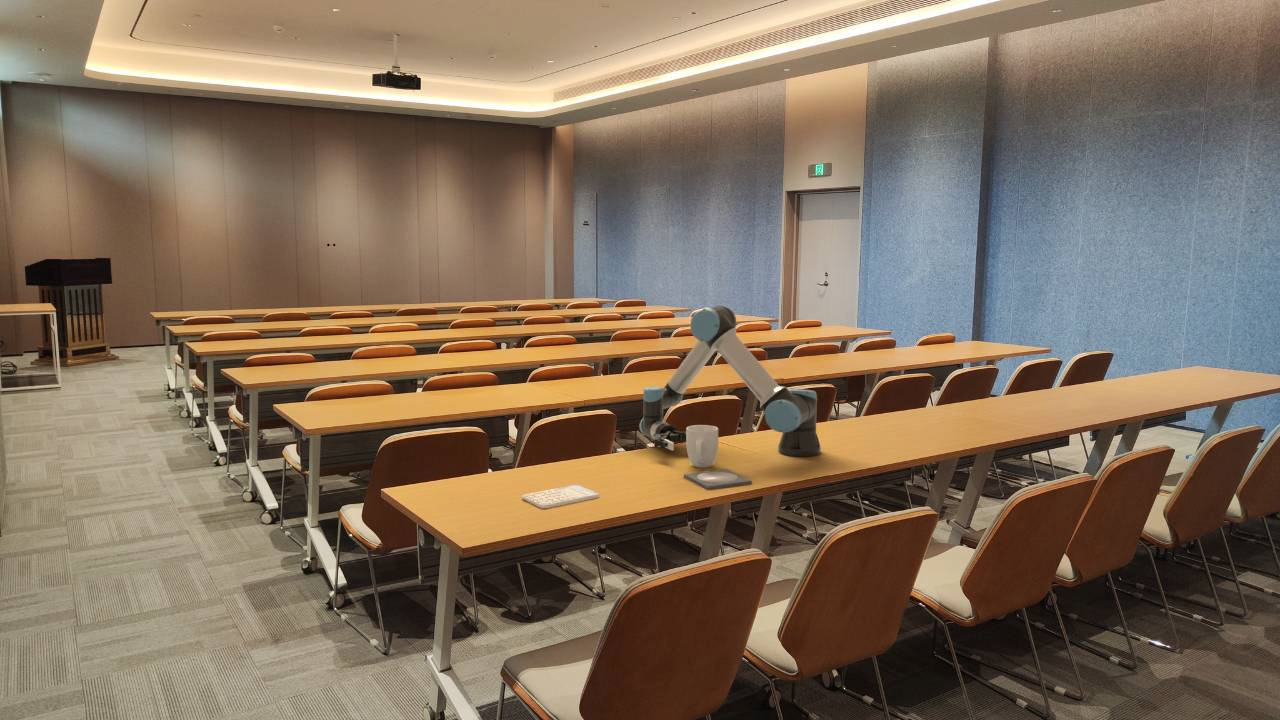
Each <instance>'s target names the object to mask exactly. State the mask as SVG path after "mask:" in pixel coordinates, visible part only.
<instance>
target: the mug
mask: <svg viewBox="0 0 1280 720" xmlns="http://www.w3.org/2000/svg"><path fill="white" fill-rule="evenodd" d="M685 431H686V441H685V443H686V445H685V446H686V451H687V452H686V453H687V457H688V459H689V462H690V464H691V465H692V466H693V467H695V468H700V469H702V468H710V467H712V466H713V464H715V460H716V459H717V455H718V451H719V450H718V449H719V427H717V426H716V425H715V426H714V425H709V424H695V425H689V426H687V427H686V430H685Z"/></svg>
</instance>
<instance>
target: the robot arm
mask: <svg viewBox="0 0 1280 720" xmlns="http://www.w3.org/2000/svg"><path fill="white" fill-rule="evenodd" d="M736 327H737V318H736V315H735V313H734V312H733V310H732V309H730V308H729V307H728V306H724V305H717V306H711V307H709V306H708V307H706V306H705V307H703V308H701V309H698V310H697V311H696V312H695V313H694V314H692V317H691V319H690V332H691V333H692V336H693V337H694V338H695V339H696V340H697V342H696V343H695V344H694V346H693V347H692V349H691V350H690V352H688V354H687V355H686V357H685V358H684V359H683V361H682V362H681V363H680V365H679V367H677V369H676V371H675V372H674V373H673V375H671V377H670V378H669V380H668V382H667V383H666V384H665V385H664V386H663V387H662V386H656V385H655V386H646V387H645V388H644V389H643V397H642V399H643V400H642V405H643V407H642V408H643V410H642V411H643V417H642V419H640V422H639V431H640V432H641V434H643V435H644V436H645V437H647V438H650V439H653V442H654V443H653V445H654V447H655V448H657V447H658V446H659V449H662V450H663V449H664V448H666V449H668V450H669V451H675V443H676V442H679V443H680V442H681V443H683V442H686V430H684V431H679V430H677V428H676V427H675V426H674V425H672V424H669V423H668V422H665V421H664V410H665V409H667V408H671V407H675V406H677V405H678V404H680V403H681V402H682V401H683V397H684V393H686V391H687V390H688V388H689V386H691V384H692V383H693V381H694V380H695V379H696V377H697V376H698V375H699V374H700V372H701V371H702V369H703V368H704V367H705V365H706V364H707V363H708V362H709V360H710V359H711V358H712V356H713V355H714V353H715V352H716V351H717V352H718V353H719V354H720V355H721V356H722V358H723V359H724V360H725V362H726V363H727V364H728V365H729V366H730V367H731V368H732V370H733V371H734V372H735V373H736V374H737V375H738V377H739V378H740V379H741V381H743V383H744V384H745V385H746V386H747V387H748V389H749V390H750V391H751V392H752V393H753V395H754V396H755V397H756V398H757V400H758V401H759V402H760V403H759V405H760V406H759V408H760V409H761V411H762V412H763V413H764V420H765V422H766V424H767V425H768V427H769V428H770V429H771V430H773V431H774V432H778V433H782V435H781V438H780V441H779V444H778V453H780V454H783V455H786V456H793V457H812V456H817V455H819V454H821V443H820V440H819V437H818V434H817V433H818V432H817V409H818V408H817V407H818V405H817V404H818V397H817V396H818V395H817V392H816V391H815V390H810V389H796V388H788V387H786V386H781V385H779V384H778V382H777V381H776V380H775V379H774V378H773V377H772V376H771V375H770V374H769V372H768V371H767V370H766V368H764V366H763V365H762V364H761V363H760V361H759V360H758V359H757V358H756V357H755V356H754V355H753V354H752V352H751V351H750V350H749V349H748V347H747V346H746V345H745V344H744V343H743V342H742V341H741V339H740V338H739V337H738V336H737V328H736Z"/></svg>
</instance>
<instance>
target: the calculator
mask: <svg viewBox="0 0 1280 720" xmlns="http://www.w3.org/2000/svg"><path fill="white" fill-rule="evenodd" d="M597 498H600V494H599V492H597V491H595V490H592V489H589V488H587V487H584V486H582V485H579V484H571V485H566V486H561V487H556V488H551V489H546V490H541V491H535V492H530V493H526V494H522V495H521V500H523V499H524V500H526V501H525V502H527V501H528V502H527V503H529V502H530V503H529V504H531V503H532V504H531V505H533V504H534V506H535V505H536V506H535V507H537V506H538V507H537V508H539V507H540V508H539V509H542V508H547V509H550V507H552V508H556V507H559V506H560V505H561V506H566V505H571V504H573V503H580V502H583V501H585V502H586V501H589V500H593V499H597ZM524 500H523V501H524ZM555 506H556V507H555ZM561 506H560V507H561Z"/></svg>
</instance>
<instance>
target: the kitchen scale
mask: <svg viewBox="0 0 1280 720" xmlns="http://www.w3.org/2000/svg"><path fill="white" fill-rule="evenodd" d="M683 478H685V479H686V480H688V481H690V482H692V483H694V484H696V485H697V486H700V487H701V488H703V489H705V490H713V489H714V490H715V489H716V490H717V489H722V488H729V487H737V486H744V485H752V483H753V482H752V481H753V480H751V479H750V478H748V477H745V476H743V475H741V474H739V473H736V472H735V471H732V470H731V469H728V468H724V469H723V468H722V469H715V470H714V469H713V470H706V471H700V472H699V471H698V472H689V473H683Z"/></svg>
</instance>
